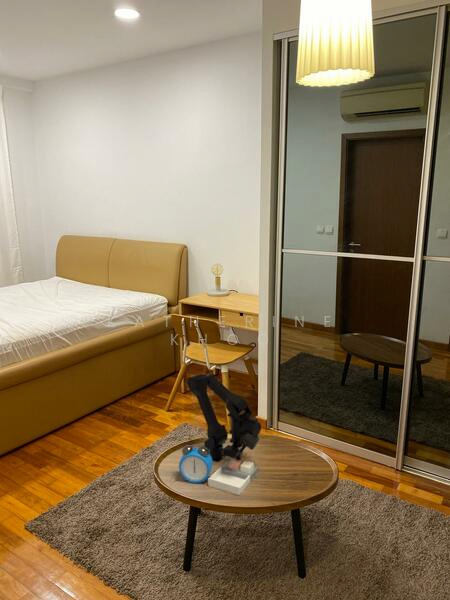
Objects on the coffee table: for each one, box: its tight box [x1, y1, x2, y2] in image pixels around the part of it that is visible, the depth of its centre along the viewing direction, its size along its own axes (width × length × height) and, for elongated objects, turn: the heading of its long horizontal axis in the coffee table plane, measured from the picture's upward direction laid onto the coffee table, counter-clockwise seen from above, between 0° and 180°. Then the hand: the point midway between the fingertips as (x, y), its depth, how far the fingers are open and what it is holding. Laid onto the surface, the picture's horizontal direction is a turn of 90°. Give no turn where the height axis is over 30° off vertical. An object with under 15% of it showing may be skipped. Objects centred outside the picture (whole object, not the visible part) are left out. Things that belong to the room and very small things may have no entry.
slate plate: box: [220, 458, 259, 483], centre depth 194 cm, size 14×8×2 cm, turn 62°
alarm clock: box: [178, 444, 214, 484], centre depth 189 cm, size 13×6×15 cm, turn 79°
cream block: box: [241, 460, 255, 474], centre depth 192 cm, size 4×4×2 cm
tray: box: [207, 466, 251, 496], centre depth 186 cm, size 14×10×4 cm
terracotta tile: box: [229, 458, 243, 471], centre depth 194 cm, size 4×4×2 cm
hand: (238, 461), depth 196 cm, fingers closed
